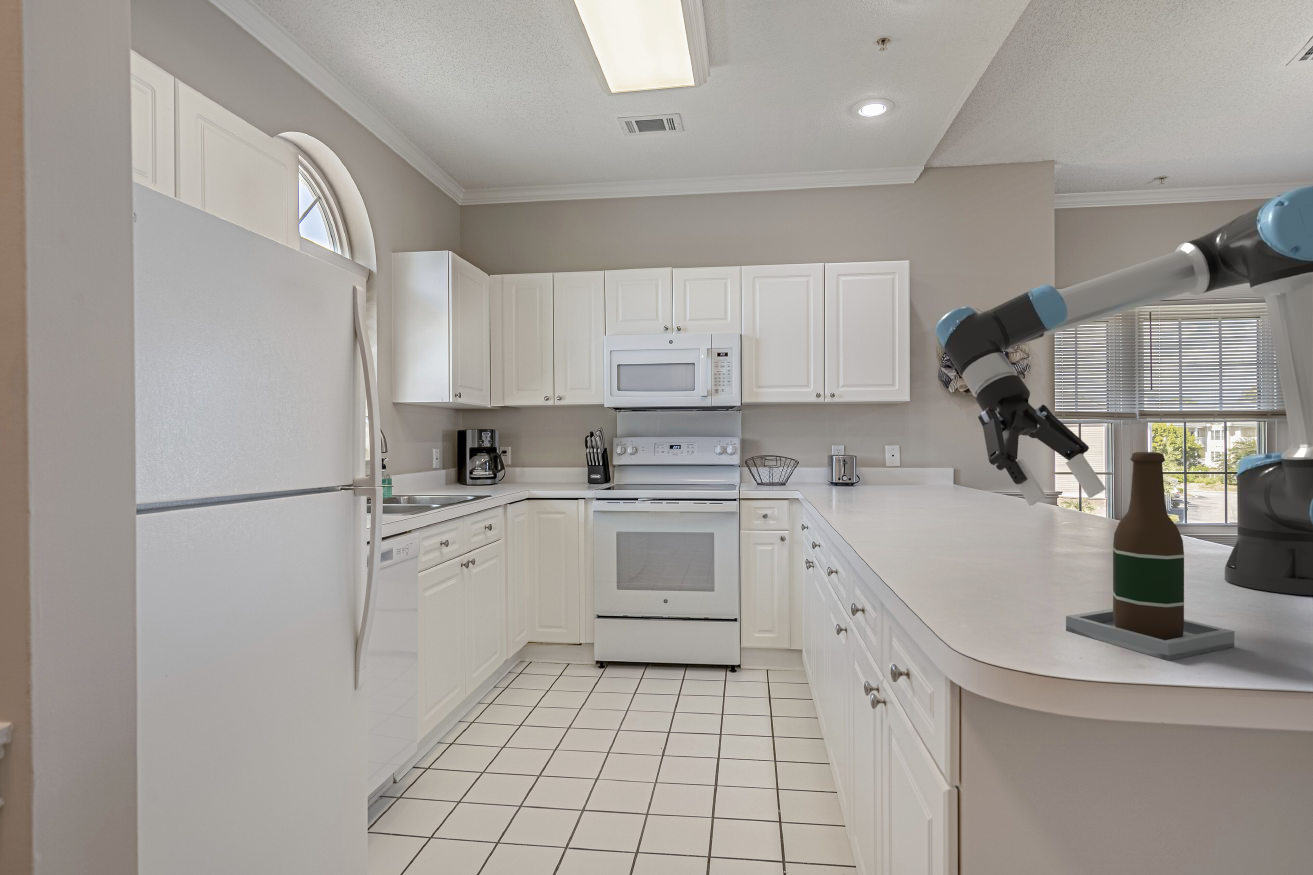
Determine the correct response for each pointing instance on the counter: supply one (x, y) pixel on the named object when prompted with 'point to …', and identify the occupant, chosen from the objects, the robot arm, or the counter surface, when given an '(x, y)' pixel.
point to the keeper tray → (1192, 642)
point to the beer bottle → (1148, 558)
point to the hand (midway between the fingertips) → (1068, 497)
